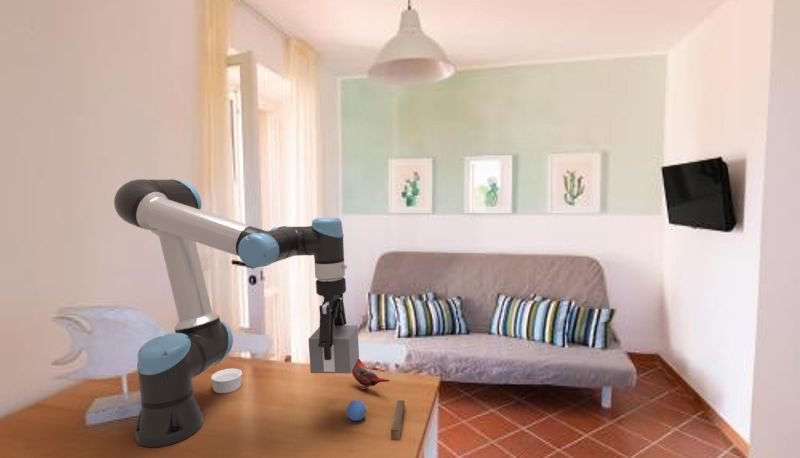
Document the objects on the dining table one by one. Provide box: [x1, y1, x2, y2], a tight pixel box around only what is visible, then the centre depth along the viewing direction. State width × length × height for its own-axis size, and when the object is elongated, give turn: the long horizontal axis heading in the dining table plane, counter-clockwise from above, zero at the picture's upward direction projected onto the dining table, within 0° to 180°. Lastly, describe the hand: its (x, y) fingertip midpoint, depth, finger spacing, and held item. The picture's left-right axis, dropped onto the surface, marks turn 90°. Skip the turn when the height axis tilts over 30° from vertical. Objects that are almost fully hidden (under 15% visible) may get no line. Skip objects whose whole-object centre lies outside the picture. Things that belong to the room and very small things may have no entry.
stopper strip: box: [390, 399, 406, 441], centre depth 108 cm, size 2×14×2 cm, turn 174°
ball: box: [346, 399, 367, 422], centre depth 110 cm, size 5×5×5 cm
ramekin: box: [210, 368, 243, 394], centre depth 130 cm, size 9×9×4 cm
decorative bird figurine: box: [351, 357, 391, 392], centre depth 125 cm, size 3×18×10 cm, turn 49°
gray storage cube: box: [308, 324, 360, 374], centre depth 109 cm, size 10×10×9 cm
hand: (335, 361), depth 109 cm, fingers closed on gray storage cube, 10 cm apart
